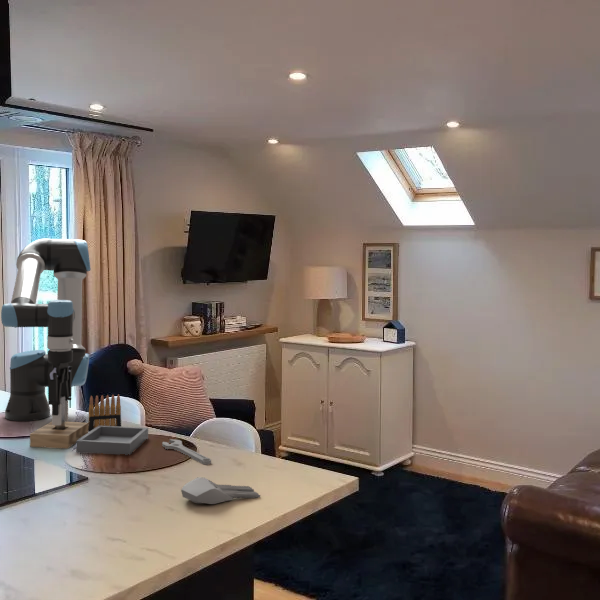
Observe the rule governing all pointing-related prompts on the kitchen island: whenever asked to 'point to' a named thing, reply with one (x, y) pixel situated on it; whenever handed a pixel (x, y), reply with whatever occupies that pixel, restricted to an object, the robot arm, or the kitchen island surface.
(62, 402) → the pin
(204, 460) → the adjustable wrench
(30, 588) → the kitchen island surface
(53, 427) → the tan board with hole
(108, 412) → the ammunition clip
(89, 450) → the tray
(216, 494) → the turret
